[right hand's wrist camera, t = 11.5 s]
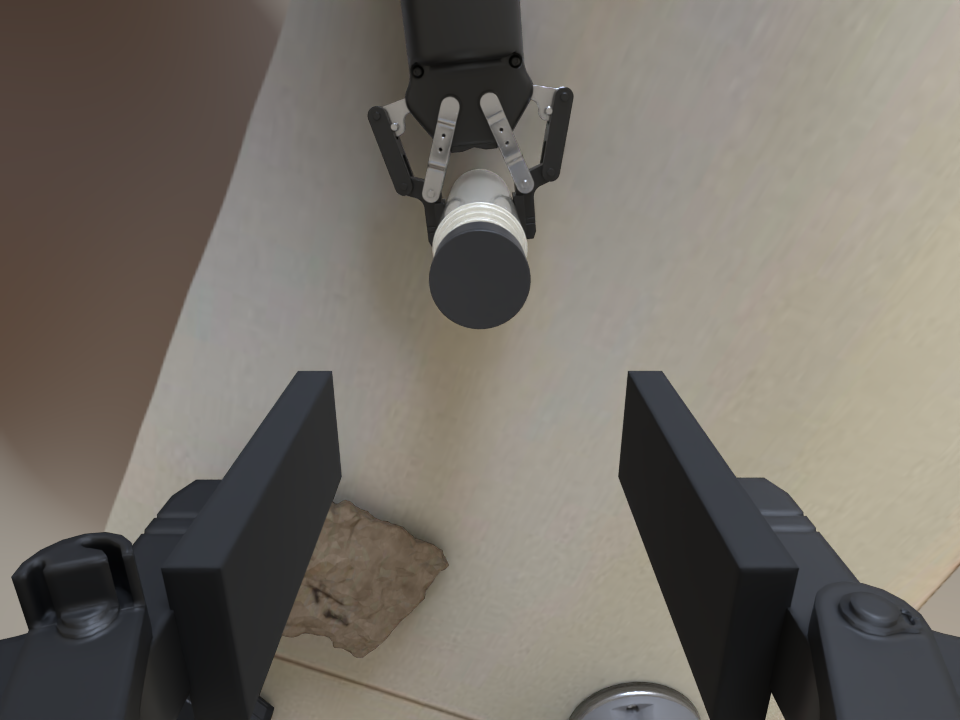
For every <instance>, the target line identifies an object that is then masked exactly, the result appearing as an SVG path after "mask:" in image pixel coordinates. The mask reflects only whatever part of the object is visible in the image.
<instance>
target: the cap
mask: <svg viewBox="0 0 960 720" xmlns="http://www.w3.org/2000/svg"><path fill="white" fill-rule="evenodd" d="M530 283H531V278H530V269H529V266H528V262H527V259H526V256H525V253H524V250H523V248H522V246H521V244H520V243H519V241H518V240H517V239H516V237H515V236H514V235H513V234H512V233H511V232H509V231H508V230H507V229H505V228H503V227H501V226H500V225H497V224H494V223H490V222H483V221H476V222H469V223H466V224H463V225H460V226H458V227H456V228H455V229H453V230H452V231H450V232H449V233H448V234H447V235H446V236H445V237H444V238H443V239H442V241H441V242H440V244H439V245H438V247H437V249H436V252H435V255H434V258H433V261H432V264H431V268H430V273H429V286H430V291H431V294H432V297H433V300H434V302H435V304H436V305H437V307H438V308H439V310H440V311H441V312H442V313H443V314H444V315H445V316H446V317H447V318H448V319H450V320H451V321H453V322H454V323H456V324H458V325H461V326H464V327H467V328H472V329H488V328H493V327H496V326H499V325H501V324H503V323H505V322H507V321H508V320H510V319H511V318H512V317H514V316H515V315H516V314H517V313H518V312H519V310H520V309H521V308H522V306H523V305H524V303H525V301H526V299H527V296H528V294H529V290H530Z"/></svg>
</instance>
